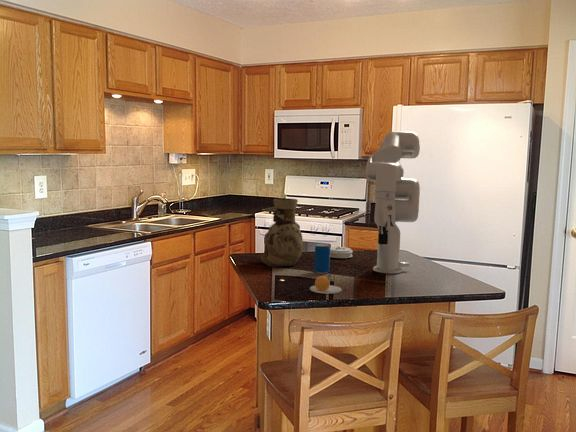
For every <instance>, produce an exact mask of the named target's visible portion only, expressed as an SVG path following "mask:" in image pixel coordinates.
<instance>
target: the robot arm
mask: <svg viewBox="0 0 576 432" xmlns="http://www.w3.org/2000/svg"><path fill="white" fill-rule="evenodd" d="M420 145H421V144H420V139H419V135H418V134H417V133H416V132H414V131H390V132H388V133H386V134H385V136H384V138H383V140H382V141H381V143H380V146H379V149H378V150H376V151H374V152H372V154H370V155H369V157H368V159H367V163H366V167H365V177H366V180H368V181H371V182H375V187H374V188H375V189H374V191H375V192H374V200H375V206H374V223H375V225H376V227H377V231H378V232H377V233H378V234H377V252H376V253H377V254H376V256H377V257H376V265H374V266H373V267H372V270H373V271H374V272H376V273H380V274H387V275H388V274H389V275H392V274H393V275H394V274H400V273H402V272H403V268H405V267H406V268H409V267H410V262H407V261H406V262H404V261H401V260H400V248H401V230H400V228H399V226H398V225H397V224H396V223H414V222H416V221H417V220H418V219H419V218H418V217H419V212H420V211H419V210H420V197H421V196H420V195H421V194H420V192H421V191H420V190H421V187H420V182H419V181H418V180H417V179H415V178H409V177H407V178H405V177H404V175H405V174H404V173H405V171H404V168H403V166H402V165H401V163H399V161H400V160H401V159H416V158H418V156H419V154H420V149H421V148H420V147H421V146H420Z"/></svg>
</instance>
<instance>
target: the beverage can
mask: <svg viewBox="0 0 576 432" xmlns="http://www.w3.org/2000/svg"><path fill="white" fill-rule="evenodd" d="M330 263H331V257H330V244H326V243H317V244H316V246H315V247H314V268H313V269H314V272H315V273H316V274H320V275H326V274H327V275H328V273H329V272H330V268H331V266H330Z"/></svg>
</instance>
